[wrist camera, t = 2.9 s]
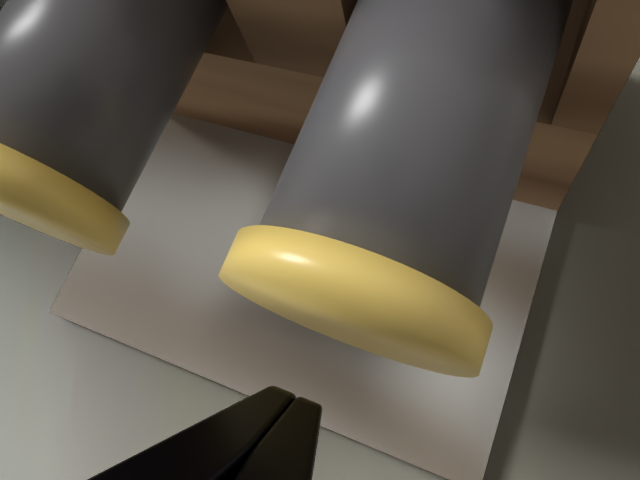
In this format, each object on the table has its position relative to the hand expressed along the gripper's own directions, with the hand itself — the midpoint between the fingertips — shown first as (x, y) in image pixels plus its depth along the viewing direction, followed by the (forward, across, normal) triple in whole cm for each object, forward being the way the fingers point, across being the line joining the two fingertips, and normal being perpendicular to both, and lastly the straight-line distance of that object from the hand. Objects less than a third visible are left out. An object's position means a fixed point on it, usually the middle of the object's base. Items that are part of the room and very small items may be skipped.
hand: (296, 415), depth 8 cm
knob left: (+7, +8, -1) cm, 10 cm away
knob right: (+7, 0, -1) cm, 7 cm away
